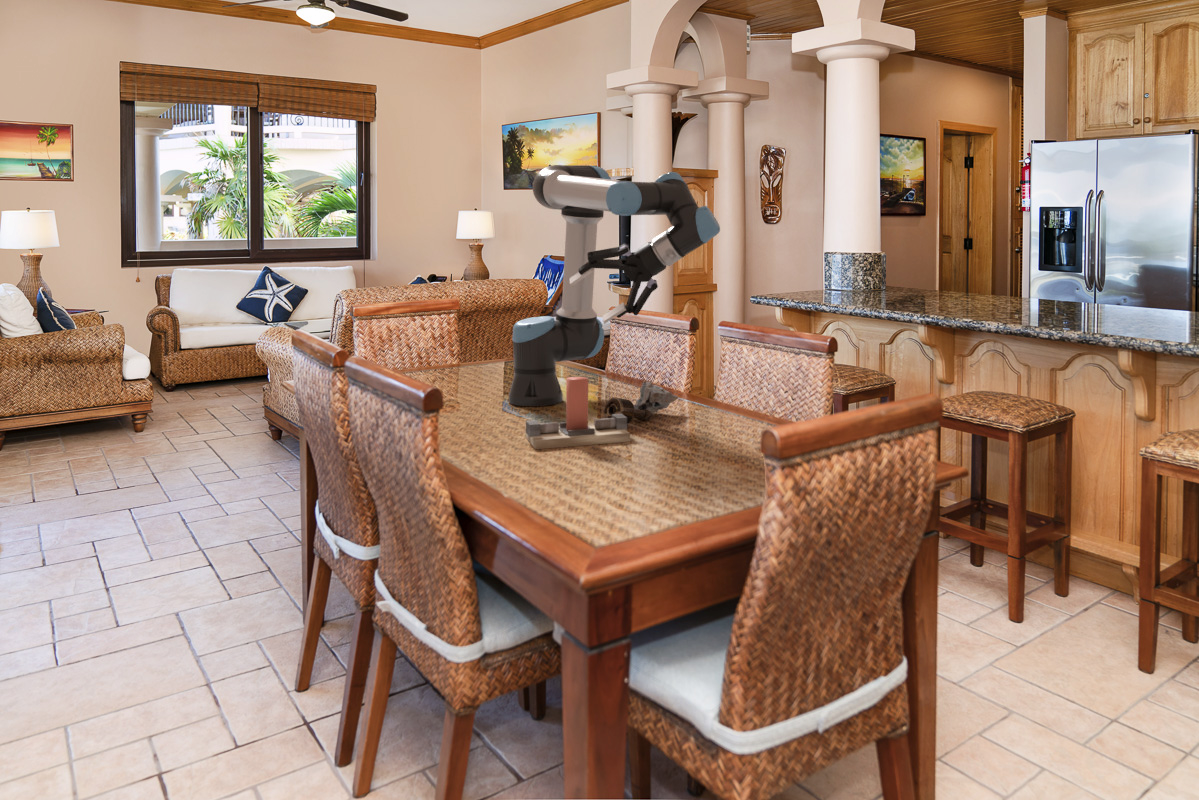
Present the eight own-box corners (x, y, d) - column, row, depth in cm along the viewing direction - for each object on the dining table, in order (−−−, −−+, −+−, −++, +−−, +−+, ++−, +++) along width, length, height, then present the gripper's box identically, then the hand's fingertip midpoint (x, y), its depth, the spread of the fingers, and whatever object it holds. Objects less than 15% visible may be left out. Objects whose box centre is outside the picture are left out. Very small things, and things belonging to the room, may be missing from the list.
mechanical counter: (595, 400, 226) (606, 398, 217) (643, 391, 230) (656, 389, 220) (600, 428, 227) (611, 428, 217) (648, 419, 230) (661, 418, 220)
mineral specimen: (640, 429, 238) (663, 432, 228) (615, 408, 235) (638, 410, 224) (662, 395, 241) (686, 397, 231) (638, 374, 237) (661, 374, 227)
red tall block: (562, 429, 209) (562, 378, 206) (579, 426, 212) (579, 376, 209) (575, 433, 205) (575, 381, 203) (592, 430, 208) (592, 379, 206)
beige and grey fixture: (523, 437, 212) (522, 417, 211) (617, 429, 218) (616, 410, 217) (533, 449, 200) (532, 428, 199) (632, 441, 206) (631, 420, 205)
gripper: (630, 223, 205) (556, 273, 212) (689, 298, 218) (617, 343, 225) (627, 208, 211) (556, 258, 218) (685, 282, 224) (615, 326, 231)
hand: (587, 301), depth 221 cm, fingers open, 13 cm apart
